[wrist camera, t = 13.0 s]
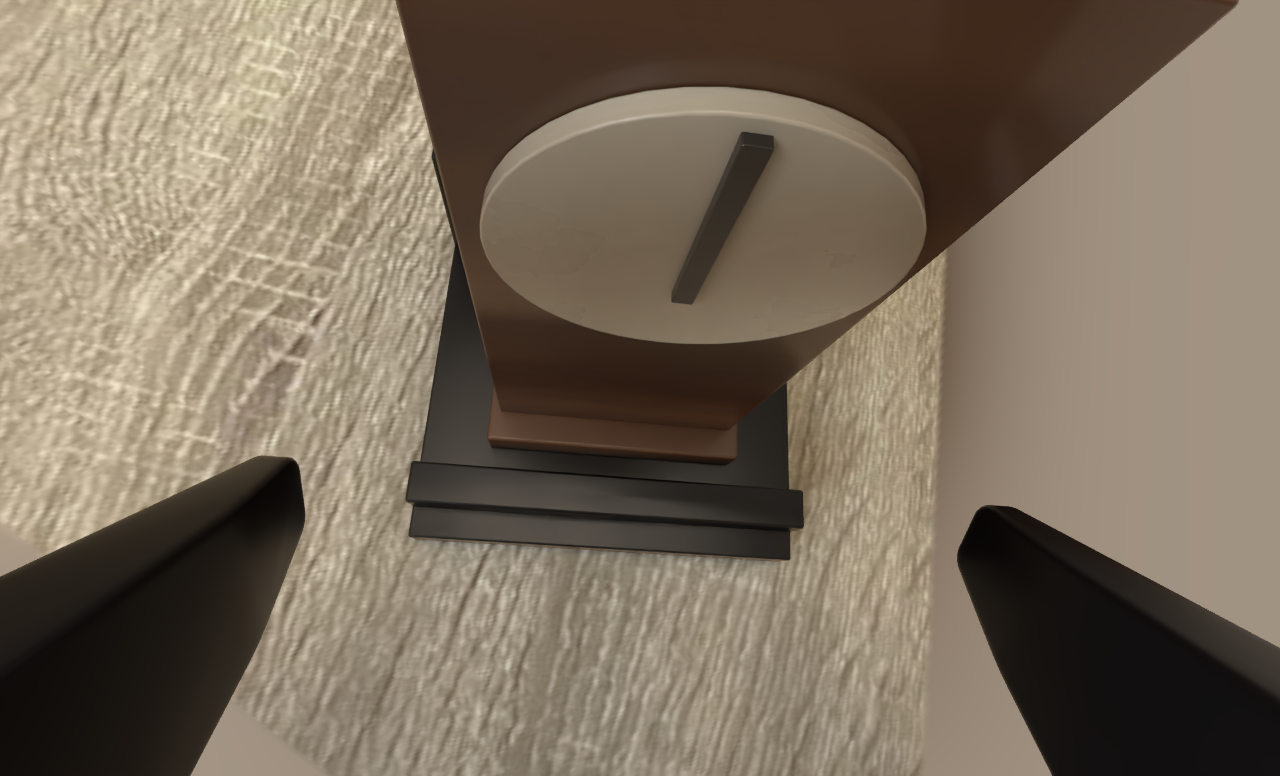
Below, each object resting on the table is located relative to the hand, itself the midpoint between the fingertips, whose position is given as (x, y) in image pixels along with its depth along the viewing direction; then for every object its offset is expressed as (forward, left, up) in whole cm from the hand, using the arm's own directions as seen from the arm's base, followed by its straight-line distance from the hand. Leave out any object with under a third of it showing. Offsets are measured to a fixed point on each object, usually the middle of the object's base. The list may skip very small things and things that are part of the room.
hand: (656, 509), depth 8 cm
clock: (+4, +2, -8) cm, 10 cm away
